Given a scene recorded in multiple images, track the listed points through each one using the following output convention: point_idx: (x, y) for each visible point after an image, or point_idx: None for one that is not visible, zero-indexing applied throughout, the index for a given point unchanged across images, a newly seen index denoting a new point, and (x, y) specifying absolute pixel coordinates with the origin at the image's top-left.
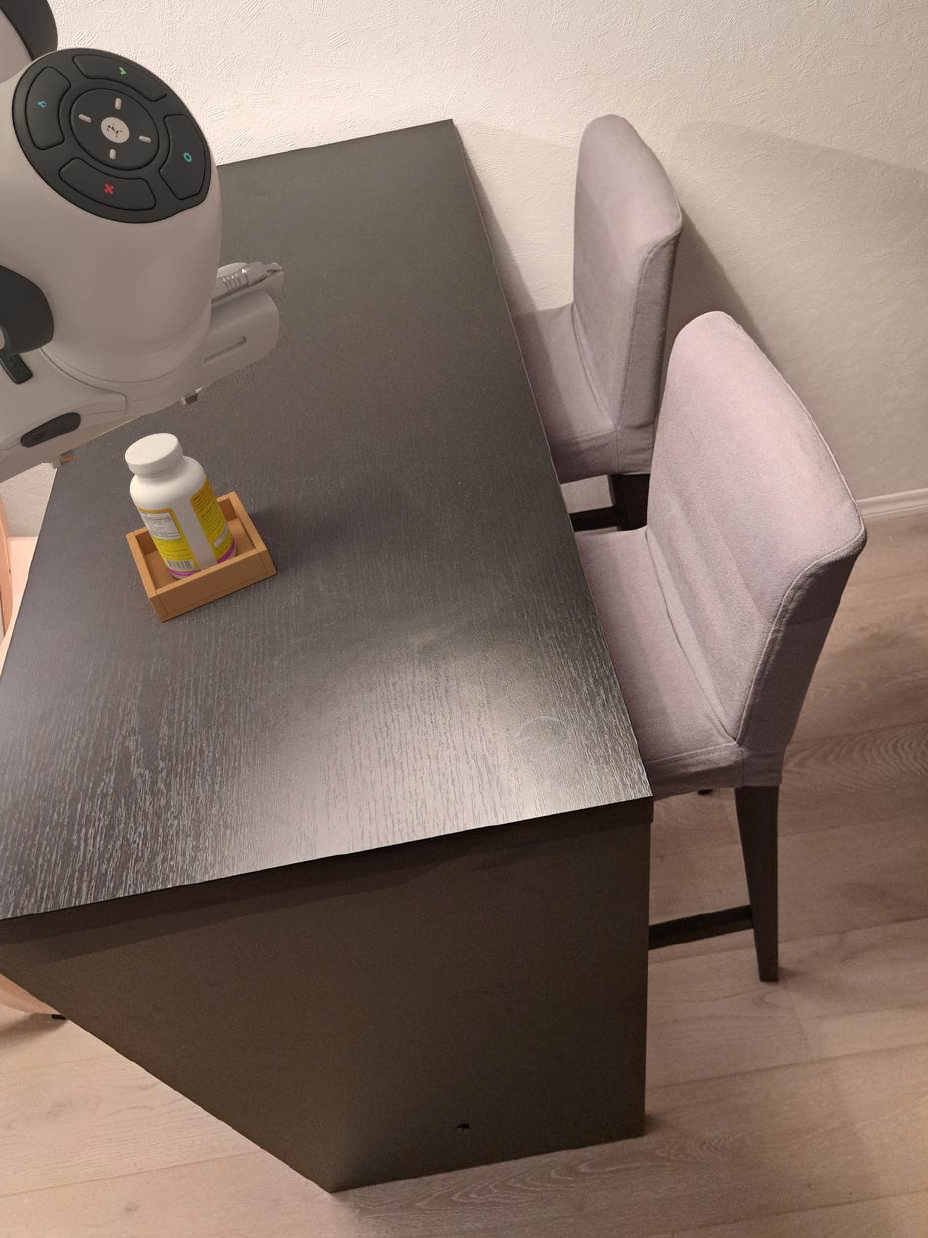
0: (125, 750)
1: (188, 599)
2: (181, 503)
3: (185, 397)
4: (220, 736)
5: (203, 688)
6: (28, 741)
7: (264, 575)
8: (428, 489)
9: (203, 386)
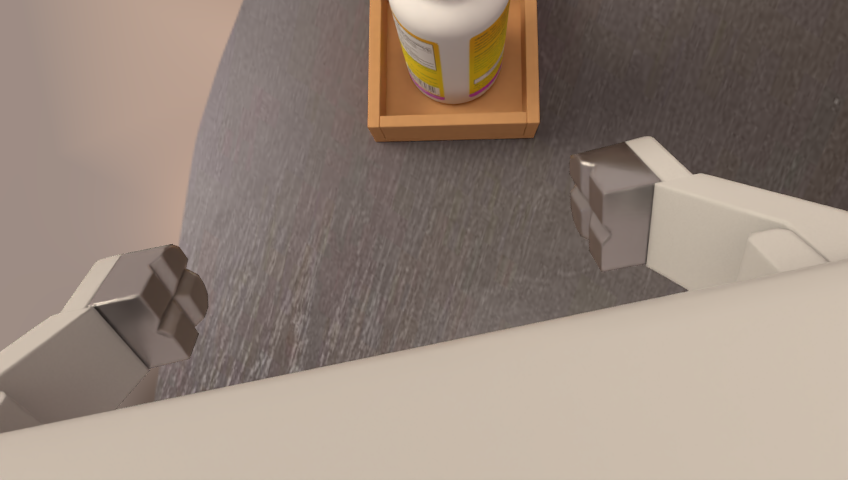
0: (289, 330)
1: (415, 135)
2: (455, 42)
3: (601, 267)
4: None
5: (392, 287)
6: (197, 248)
7: (518, 136)
8: (788, 88)
9: (690, 288)
